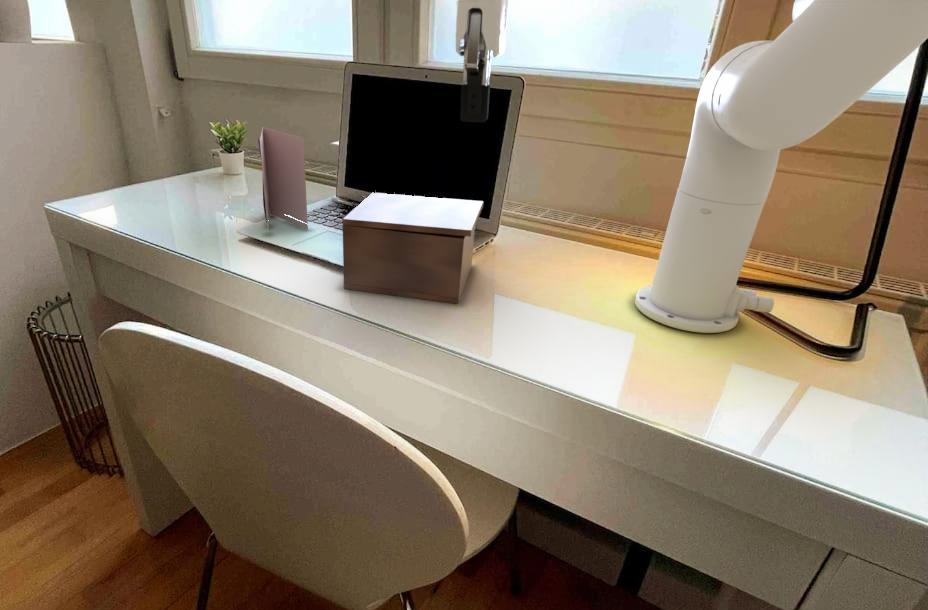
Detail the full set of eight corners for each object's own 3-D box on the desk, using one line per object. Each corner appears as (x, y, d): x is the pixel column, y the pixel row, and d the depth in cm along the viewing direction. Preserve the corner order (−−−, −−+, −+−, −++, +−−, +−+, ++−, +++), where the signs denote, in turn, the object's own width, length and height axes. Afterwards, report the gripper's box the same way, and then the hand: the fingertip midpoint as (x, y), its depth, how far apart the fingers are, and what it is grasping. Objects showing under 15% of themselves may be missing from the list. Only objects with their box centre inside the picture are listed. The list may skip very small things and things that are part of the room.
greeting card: (265, 214, 103) (257, 127, 95) (306, 213, 104) (302, 127, 97) (262, 235, 93) (253, 140, 86) (308, 234, 95) (303, 140, 87)
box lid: (483, 206, 81) (483, 201, 80) (470, 236, 69) (471, 230, 69) (372, 197, 84) (372, 192, 83) (342, 225, 72) (342, 218, 72)
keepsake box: (471, 266, 85) (477, 209, 81) (458, 304, 74) (464, 239, 69) (371, 254, 88) (372, 197, 84) (343, 288, 76) (342, 225, 72)
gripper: (517, -74, 53) (499, 132, 62) (524, -54, 66) (509, 114, 75) (438, -73, 54) (432, 128, 63) (460, -54, 67) (452, 111, 76)
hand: (473, 120), depth 69 cm, fingers closed
